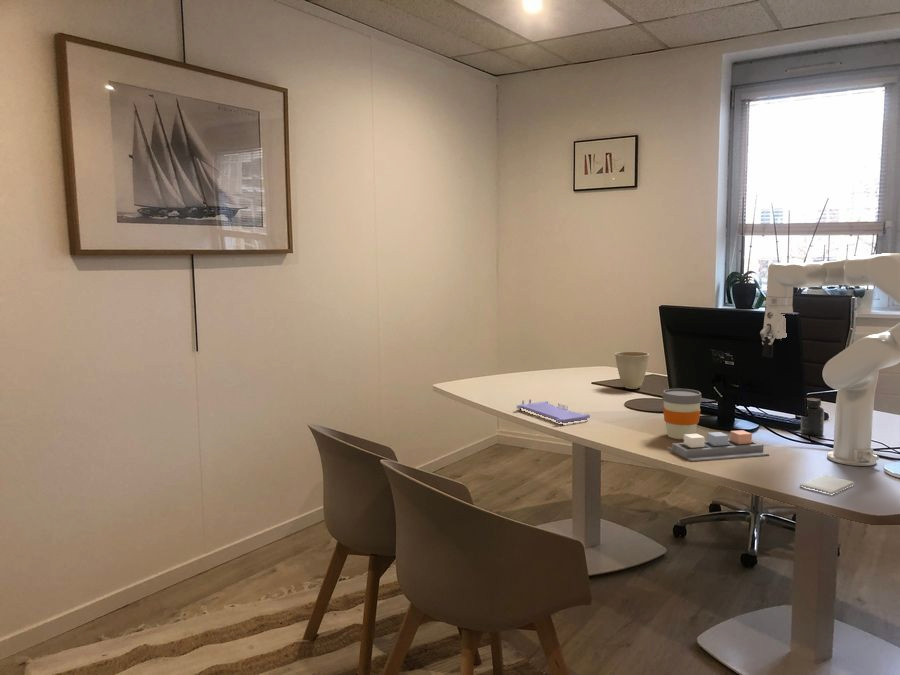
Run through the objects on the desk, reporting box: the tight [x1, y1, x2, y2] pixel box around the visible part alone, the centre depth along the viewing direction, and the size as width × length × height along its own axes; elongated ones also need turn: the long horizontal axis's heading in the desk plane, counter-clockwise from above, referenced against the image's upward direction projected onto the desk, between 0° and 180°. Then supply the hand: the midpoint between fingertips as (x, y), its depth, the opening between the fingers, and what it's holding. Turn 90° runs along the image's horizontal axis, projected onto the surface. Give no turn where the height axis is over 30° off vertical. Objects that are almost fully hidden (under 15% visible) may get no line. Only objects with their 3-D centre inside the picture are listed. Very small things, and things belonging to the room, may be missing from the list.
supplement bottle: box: [800, 397, 825, 437], centre depth 233 cm, size 7×7×12 cm
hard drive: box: [799, 474, 855, 494], centre depth 183 cm, size 2×8×12 cm
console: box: [666, 438, 770, 462], centre depth 215 cm, size 14×26×2 cm, turn 101°
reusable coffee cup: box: [662, 388, 702, 440], centre depth 233 cm, size 13×13×15 cm
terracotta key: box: [729, 429, 753, 444], centre depth 216 cm, size 4×4×3 cm
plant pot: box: [614, 351, 650, 387], centre depth 314 cm, size 15×15×16 cm
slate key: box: [706, 431, 729, 446], centre depth 214 cm, size 4×4×3 cm
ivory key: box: [683, 433, 706, 448], centre depth 213 cm, size 4×4×3 cm
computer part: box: [516, 399, 591, 423], centre depth 265 cm, size 30×4×15 cm
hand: (776, 355), depth 221 cm, fingers open, 9 cm apart
